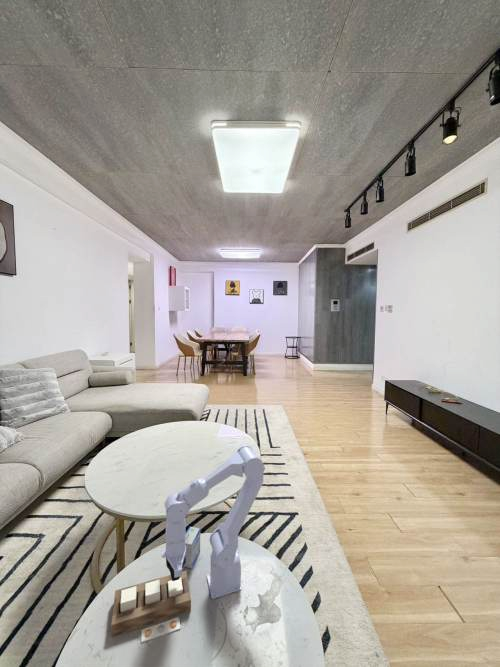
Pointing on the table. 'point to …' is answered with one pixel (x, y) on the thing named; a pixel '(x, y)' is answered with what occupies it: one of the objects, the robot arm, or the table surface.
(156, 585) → the button middle
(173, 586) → the button
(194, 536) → the medicine box
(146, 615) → the board
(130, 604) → the button
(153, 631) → the pattern card
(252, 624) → the table surface
